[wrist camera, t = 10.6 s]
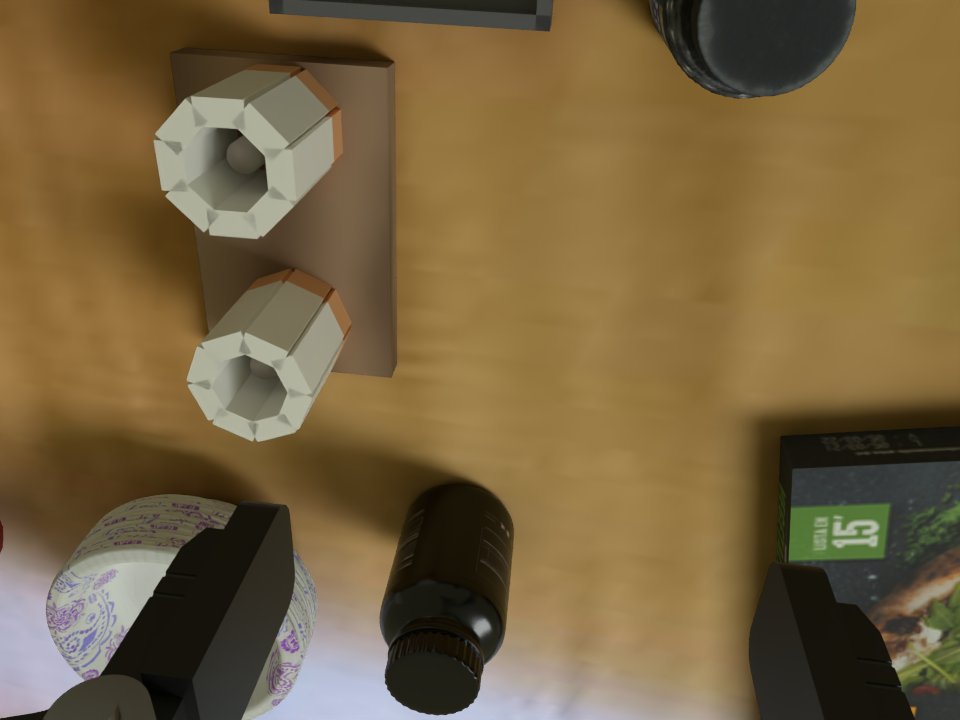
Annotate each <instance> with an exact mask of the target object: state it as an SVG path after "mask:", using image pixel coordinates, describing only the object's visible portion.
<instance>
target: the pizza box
mask: <svg viewBox="0 0 960 720" xmlns="http://www.w3.org/2000/svg"><path fill="white" fill-rule="evenodd" d="M777 562H779V563H788V564H797V565H805V566H814V567H821V568H823V569H824V570H825V572H826V574H827V576H828V579H829V582H830V585H831V587H832V590H833V593H834V596H835V599H836V601H837V602H838V603H847V604H855V605H857V606H858V607H859V608H860V609H861V611H862V612H863V613H864V614H865V615H866V616H867V617H868V619H869V620H870V621H871V622H872V623H873V624H874V625H875V627H876V628H877V629H878V630H879V631H880V632H881V635H882V637H883V640H884V642H885V645H886V647H887V650H888V652H889V655H890V657H891V660H892V667H894V668H895V670H896V672H897V675H898V677H899V680H900V682H901V685H902V692H905V695H906V697H907V700H908V702H909V705H910V707H911V710H912V712H913V715H914V717H915V720H960V426H956V427H938V428H920V429H901V430H883V431H865V432H847V433H829V434H811V435H792V436H781V444H780V474H779V503H778V533H777Z"/></svg>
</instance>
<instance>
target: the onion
mask: <svg viewBox="0 0 960 720" xmlns="http://www.w3.org/2000/svg"><path fill="white" fill-rule="evenodd" d="M2 548H3V526H2V524H1V521H0V552H1V550H2Z"/></svg>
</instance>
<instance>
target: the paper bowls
mask: <svg viewBox="0 0 960 720" xmlns="http://www.w3.org/2000/svg"><path fill="white" fill-rule="evenodd" d="M236 507H237V506H236V505H233V504H230V503H227V502H223V501H219V500H214V499H206V498H201V497H196V496H189V495H179V494H163V495H154V496H149V497H143V498H139V499H136V500H133V501H130V502H128V503H125V504H123V505H120V506H119V507H117V508H115V509H113V510H112V511H111V512H109V513H108V514H106V515H105V516H104V517H103V518H102V519H101V520H99V521H98V523H97V524H96V525H95V526H94V527H93V528H92V529H91V530H90V532H89V533H88V534H87V536H86V537H85V538H84V540H83V541H82V542H81V543H80V545H79V546H78V547H77V548H76V550H75V551H74V552H73V554H72V556H71V558H70V559H69V560H68V561H67V563H66V564H65V565H64V566H63V567H62V568H61V570H60V571H59V573H58V574H57V576H56V577H55V579H54V580H53V583H52V585H51V588H50V590H49V593H48V598H47V604H46V615H47V623H48V626H49V630H50V633H51V636H52V638H53V640H54V643H55V644H56V646H57V648H58V650H59V651H60V653H61V654H62V656H63V657H64V659H65V660H66V661H67V663H68V664H69V665H70V666H71V667H72V668H73V669H74V671H75V672H76V673H77V674H78V675H79V676H81V677H82V678H83V679H84V680H85V681H86V680H89V679H92V678H95V677H99V676H100V674H101V673H102V671H103V670H104V669H105V667H106V666H107V664H108V662H109V661H110V659H111V658H112V656H113V654H114V653H115V651H116V650H117V648H118V647H119V645H120V643H121V642H122V640H123V639H124V637H125V635H126V634H127V632H128V631H129V629H130V627H131V626H132V624H133V623H134V621H135V620H136V618H137V616H138V615H139V613H140V612H141V610H142V608H143V607H144V605H145V604H146V602H147V601H148V599H149V597H152V596H153V591H154V589H155V588H156V586H157V585H158V583H159V582H160V580H161V578H162V577H165V575H166V570H167V569H168V567H169V566H170V564H171V563H172V561H173V559H174V558H175V556H176V555H177V553H178V551H179V550H180V548H181V547H182V546H183V545H185V544H186V543H187V542H188V541H190V540H191V539H192V538H194V537H195V536H196V535H197V534H199V533H200V532H201V531H202V530H204V529H205V528H206V527H208V528H217V529H224V528H225V526H226V524H227V522H228V521H229V519H230V517H231V516H232V514H233V512H234V510H235V509H236ZM293 554H294V565H295V583H294V590H293V595H292V599H291V603H290V606H289V609H288V611H287V614H286V616H285V618H284V621H283V623H282V625H281V628H280V630H279V632H278V635H277V637H276V639H275V642H274V644H273V647H272V649H271V651H270V654H269V656H268V658H267V661H266V663H265V665H264V668H263V670H262V672H261V675H260V677H259V680H258V682H257V684H256V687H255V689H254V691H253V694H252V696H251V698H250V701H249V703H248V706H247V708H246V710H245V713H244V715H243V717H242V720H250V719H253V718H256V717H258V716H260V715H263V714H265V713H266V712H268V711H269V710H271V709H272V708H274V707H275V706H277V705H278V704H279V703H280V702H281V701H282V700H283V699H284V698H285V697H286V696H287V694H288V693H289V692H290V691H291V689H292V688H293V686H294V684H295V682H296V679H297V676H298V674H299V672H300V669H301V665H302V662H303V660H304V658H305V655H306V651H307V647H308V645H309V642H310V640H311V637H312V634H313V630H314V626H315V623H316V619H317V615H318V600H317V593H316V588H315V586H314V583H313V579H312V577H311V576H310V572H309V571H308V570H306V566H305V565H304V563H303V562H302V560H301V558H300V557H299V556H298V554H297V553H296V551H295V550H294V549H293Z"/></svg>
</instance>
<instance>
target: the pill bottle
mask: <svg viewBox="0 0 960 720" xmlns="http://www.w3.org/2000/svg"><path fill="white" fill-rule="evenodd" d="M649 11H650V14H651V16H652V19H653V22H654V24H655V26H656V28H657V30H658V32H659V33H660V35H661V36H662V38H663V40H664V42H665V44H666V45H667V47H668V48H669V50H670V52H671V53H672V55H673V57H674V58H675V60H676V62H677V64H678V65H679V66H680V67H681V69H682V70H683V71H684V72H685V73H686V74H687V76H688V77H689V78H691V79H692V80H693V81H695V82H696V83H698V84H699V85H700V86H701V87H703V88H704V89H706V90H709V91H710V92H711V93H715V94H718V95H722V96H726V97H733V98H737V99H739V98H753V97H761V96H776V95H779V94H783V93H788V92H790V91H793V90H796V89H798V88H801V87H802V86H804V85H805V84H807V83H810V82H811V81H812V80H813V79H815V78H817V77H818V76H819V75H820V74H821V73H823V72H824V71H825V70H826V69H827V68H828V67H829V66H830V65H831V63H832V62H833V61H834V60H835V58H836V57H837V55H838V54H839V53H840V52H841V50H842V48H843V46H844V45H845V43H846V41H847V39H848V36H849V34H850V31H851V27H852V25H853V21H854V16H855V11H856V0H649Z"/></svg>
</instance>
